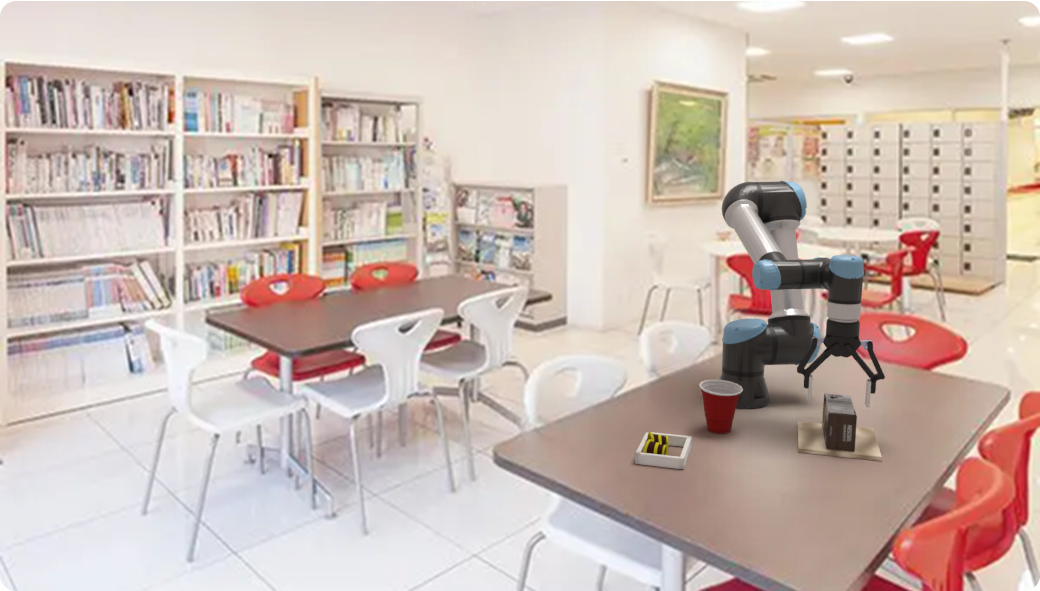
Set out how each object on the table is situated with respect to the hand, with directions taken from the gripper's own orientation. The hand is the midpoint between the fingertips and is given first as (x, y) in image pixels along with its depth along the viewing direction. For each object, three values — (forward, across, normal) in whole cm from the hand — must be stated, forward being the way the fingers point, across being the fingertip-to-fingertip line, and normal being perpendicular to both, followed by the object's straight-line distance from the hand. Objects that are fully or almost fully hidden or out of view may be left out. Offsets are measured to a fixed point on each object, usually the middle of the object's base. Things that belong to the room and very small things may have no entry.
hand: (837, 403), depth 191 cm
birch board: (+9, 0, +4) cm, 9 cm away
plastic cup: (+9, +28, +4) cm, 30 cm away
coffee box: (+3, 0, -4) cm, 5 cm away
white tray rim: (+9, +39, +25) cm, 47 cm away
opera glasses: (+9, +41, +26) cm, 49 cm away
